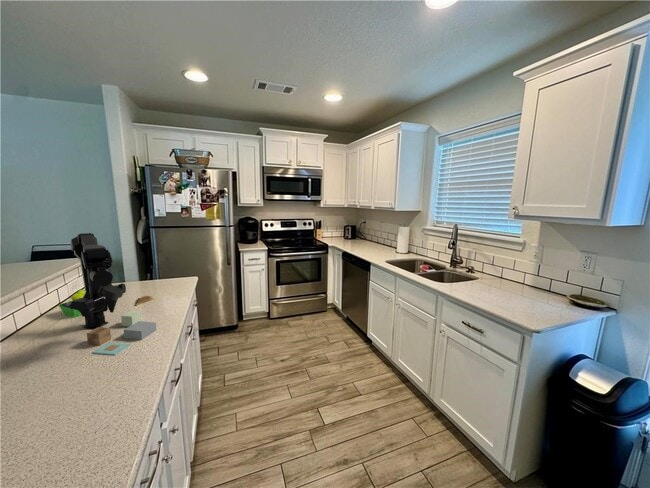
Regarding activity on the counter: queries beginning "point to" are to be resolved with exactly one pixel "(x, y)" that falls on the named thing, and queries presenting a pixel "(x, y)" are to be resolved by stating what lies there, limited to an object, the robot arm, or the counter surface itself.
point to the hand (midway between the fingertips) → (102, 317)
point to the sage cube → (130, 318)
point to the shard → (144, 299)
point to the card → (111, 348)
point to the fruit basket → (66, 306)
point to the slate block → (140, 330)
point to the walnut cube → (98, 336)
